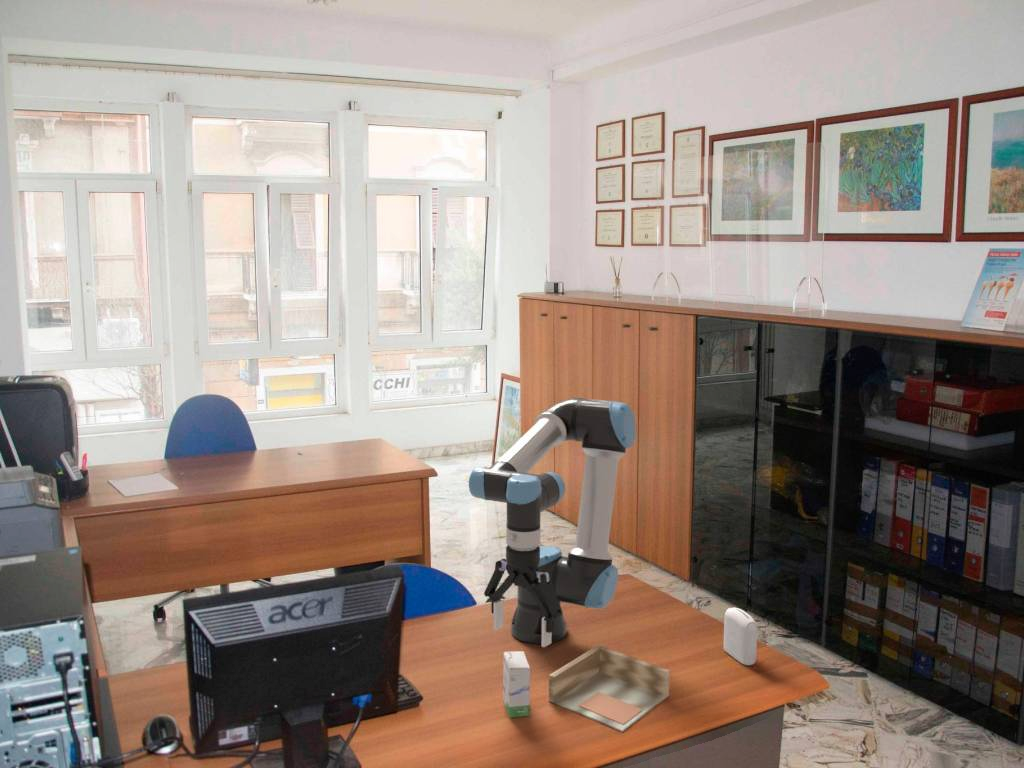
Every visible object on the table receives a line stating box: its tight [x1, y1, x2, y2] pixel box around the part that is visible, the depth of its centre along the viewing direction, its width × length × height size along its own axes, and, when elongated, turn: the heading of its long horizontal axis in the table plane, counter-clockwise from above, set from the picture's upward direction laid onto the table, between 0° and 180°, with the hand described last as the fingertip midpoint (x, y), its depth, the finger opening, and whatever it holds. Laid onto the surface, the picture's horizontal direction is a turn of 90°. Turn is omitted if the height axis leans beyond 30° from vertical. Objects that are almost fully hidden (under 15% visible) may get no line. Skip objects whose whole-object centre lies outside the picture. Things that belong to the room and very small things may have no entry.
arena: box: [548, 644, 670, 733], centre depth 202 cm, size 20×20×6 cm
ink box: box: [502, 650, 531, 719], centre depth 198 cm, size 8×5×12 cm, turn 10°
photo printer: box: [723, 607, 758, 666], centre depth 223 cm, size 10×4×12 cm, turn 20°
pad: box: [579, 692, 643, 725], centre depth 198 cm, size 12×8×1 cm, turn 50°
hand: (521, 636), depth 196 cm, fingers open, 13 cm apart
